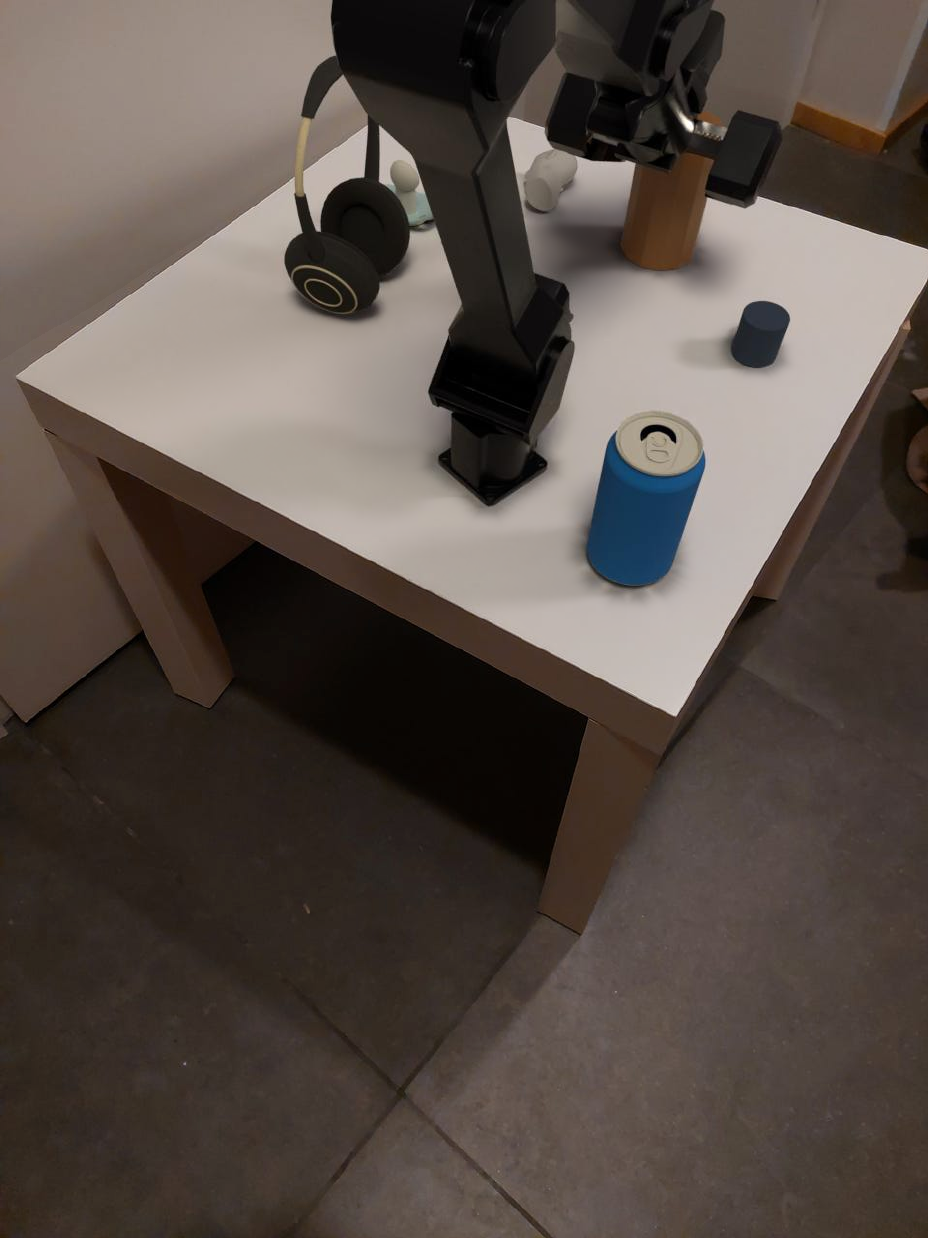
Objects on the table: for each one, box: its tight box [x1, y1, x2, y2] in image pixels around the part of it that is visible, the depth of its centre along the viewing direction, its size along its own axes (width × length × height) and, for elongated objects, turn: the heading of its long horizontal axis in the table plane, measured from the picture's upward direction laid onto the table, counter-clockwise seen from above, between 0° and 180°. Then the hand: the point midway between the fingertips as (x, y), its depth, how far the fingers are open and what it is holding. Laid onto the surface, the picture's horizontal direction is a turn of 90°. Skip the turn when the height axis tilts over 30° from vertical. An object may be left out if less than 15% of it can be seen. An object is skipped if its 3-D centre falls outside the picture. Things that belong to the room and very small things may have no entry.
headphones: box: [283, 54, 411, 315], centre depth 76 cm, size 9×15×20 cm, turn 160°
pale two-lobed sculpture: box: [524, 148, 579, 212], centre depth 93 cm, size 4×8×5 cm
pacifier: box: [384, 159, 434, 227], centre depth 89 cm, size 7×6×6 cm
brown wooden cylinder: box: [620, 109, 724, 271], centre depth 84 cm, size 7×7×13 cm
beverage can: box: [586, 410, 706, 587], centre depth 63 cm, size 6×6×12 cm
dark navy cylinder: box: [730, 300, 791, 368], centre depth 79 cm, size 4×4×4 cm
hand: (672, 169), depth 82 cm, fingers open, 9 cm apart
